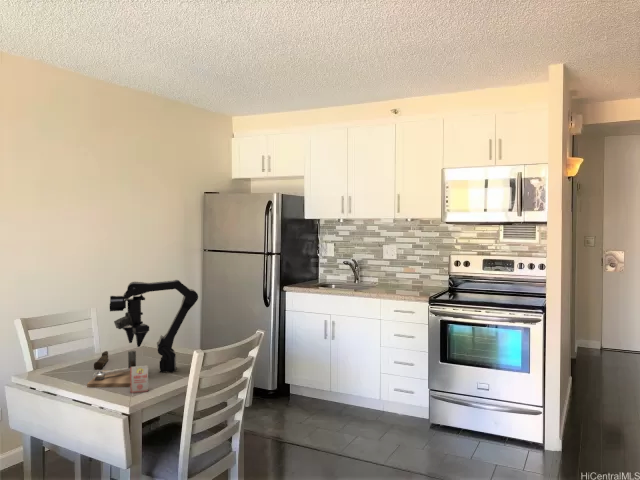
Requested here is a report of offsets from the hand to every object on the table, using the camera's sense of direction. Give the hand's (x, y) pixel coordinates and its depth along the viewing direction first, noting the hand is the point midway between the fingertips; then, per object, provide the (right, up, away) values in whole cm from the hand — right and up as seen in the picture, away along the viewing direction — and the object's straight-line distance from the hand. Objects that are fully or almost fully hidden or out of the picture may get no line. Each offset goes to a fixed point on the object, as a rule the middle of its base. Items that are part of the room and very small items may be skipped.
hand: (134, 344), depth 240 cm
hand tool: (-21, -13, +15) cm, 29 cm away
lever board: (-3, -13, -9) cm, 17 cm away
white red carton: (+10, -14, -23) cm, 29 cm away
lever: (-5, -10, -9) cm, 15 cm away
